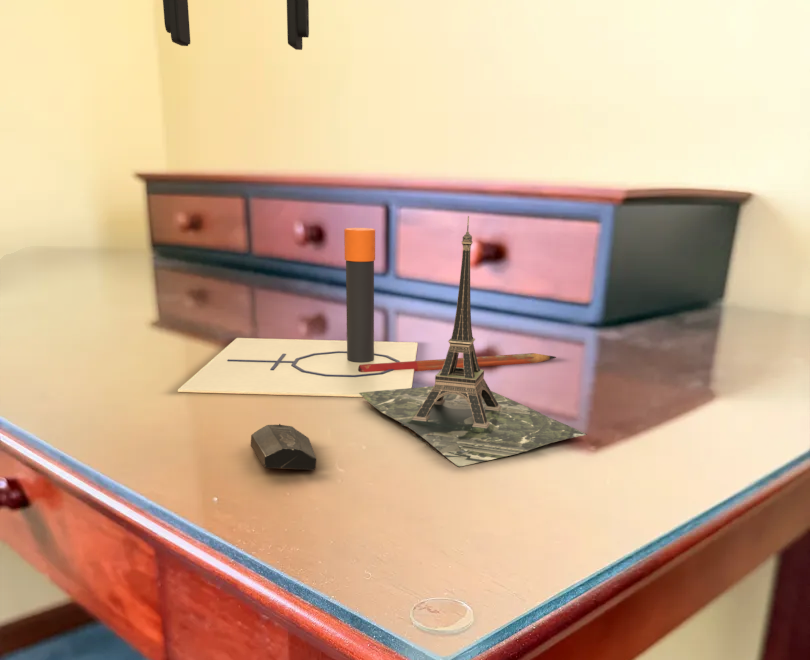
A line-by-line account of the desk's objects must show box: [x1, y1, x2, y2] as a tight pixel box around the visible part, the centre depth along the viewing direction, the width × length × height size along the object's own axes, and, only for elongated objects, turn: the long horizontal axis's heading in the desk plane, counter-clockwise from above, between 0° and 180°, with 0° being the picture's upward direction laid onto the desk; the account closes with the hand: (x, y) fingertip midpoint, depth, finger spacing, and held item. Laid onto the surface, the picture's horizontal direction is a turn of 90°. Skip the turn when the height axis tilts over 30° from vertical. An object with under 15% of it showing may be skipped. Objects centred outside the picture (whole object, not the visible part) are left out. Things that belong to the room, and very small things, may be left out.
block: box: [250, 423, 317, 471], centre depth 49 cm, size 4×6×2 cm, turn 17°
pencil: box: [358, 352, 557, 372], centre depth 72 cm, size 19×1×1 cm, turn 110°
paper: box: [177, 337, 419, 398], centre depth 72 cm, size 18×20×1 cm
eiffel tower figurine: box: [359, 215, 588, 468], centre depth 54 cm, size 15×10×13 cm
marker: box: [343, 227, 376, 363], centre depth 71 cm, size 3×3×11 cm
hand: (238, 45), depth 68 cm, fingers open, 9 cm apart
